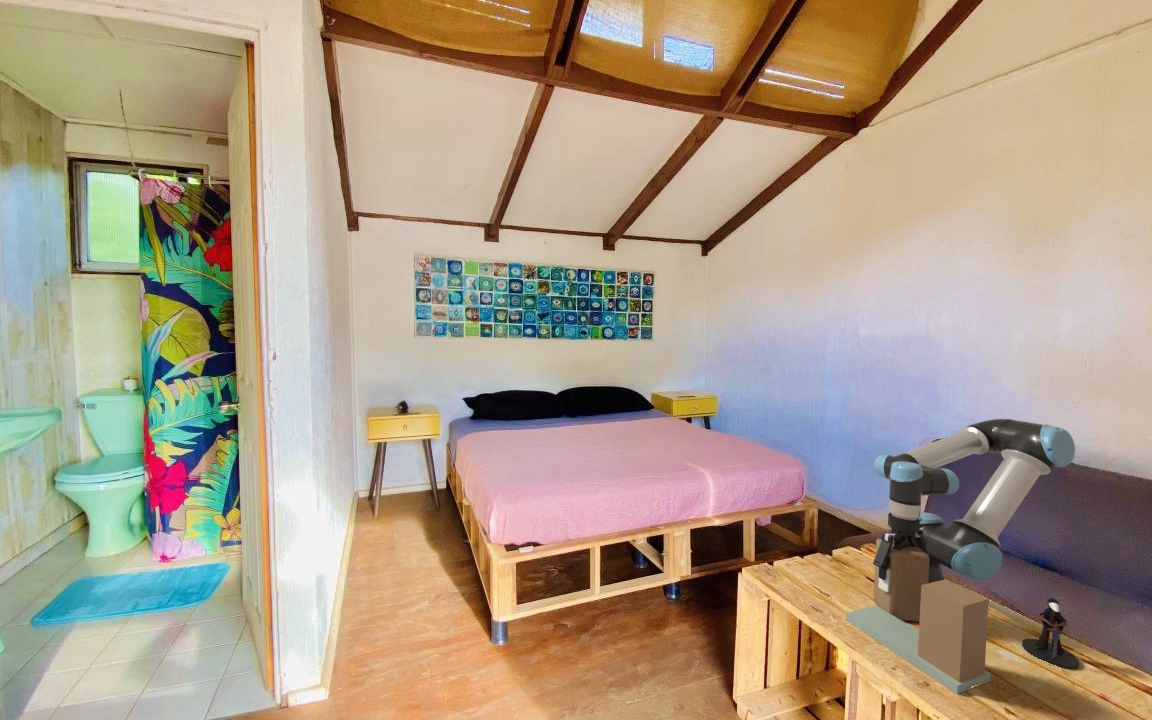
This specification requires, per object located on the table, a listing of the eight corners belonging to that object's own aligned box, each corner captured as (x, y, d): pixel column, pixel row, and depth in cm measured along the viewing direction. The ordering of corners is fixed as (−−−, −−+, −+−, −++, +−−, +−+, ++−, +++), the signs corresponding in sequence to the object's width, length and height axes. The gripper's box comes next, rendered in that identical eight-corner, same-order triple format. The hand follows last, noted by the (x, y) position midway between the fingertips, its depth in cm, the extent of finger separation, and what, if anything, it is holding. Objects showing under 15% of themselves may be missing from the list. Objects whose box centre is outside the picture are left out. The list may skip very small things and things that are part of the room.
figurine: (1027, 658, 112) (1031, 600, 112) (1017, 636, 121) (1021, 583, 120) (1086, 675, 107) (1090, 615, 106) (1071, 652, 115) (1075, 596, 114)
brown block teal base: (875, 612, 131) (878, 545, 130) (990, 681, 104) (995, 599, 103) (845, 619, 127) (848, 551, 126) (956, 694, 100) (961, 608, 99)
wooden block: (927, 624, 125) (931, 555, 124) (888, 620, 127) (892, 552, 126) (907, 604, 135) (911, 540, 134) (872, 600, 137) (875, 536, 136)
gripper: (919, 506, 137) (915, 573, 138) (861, 514, 129) (857, 585, 130) (946, 515, 130) (942, 585, 131) (886, 525, 122) (882, 600, 123)
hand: (900, 586), depth 131 cm, fingers closed on wooden block, 13 cm apart
